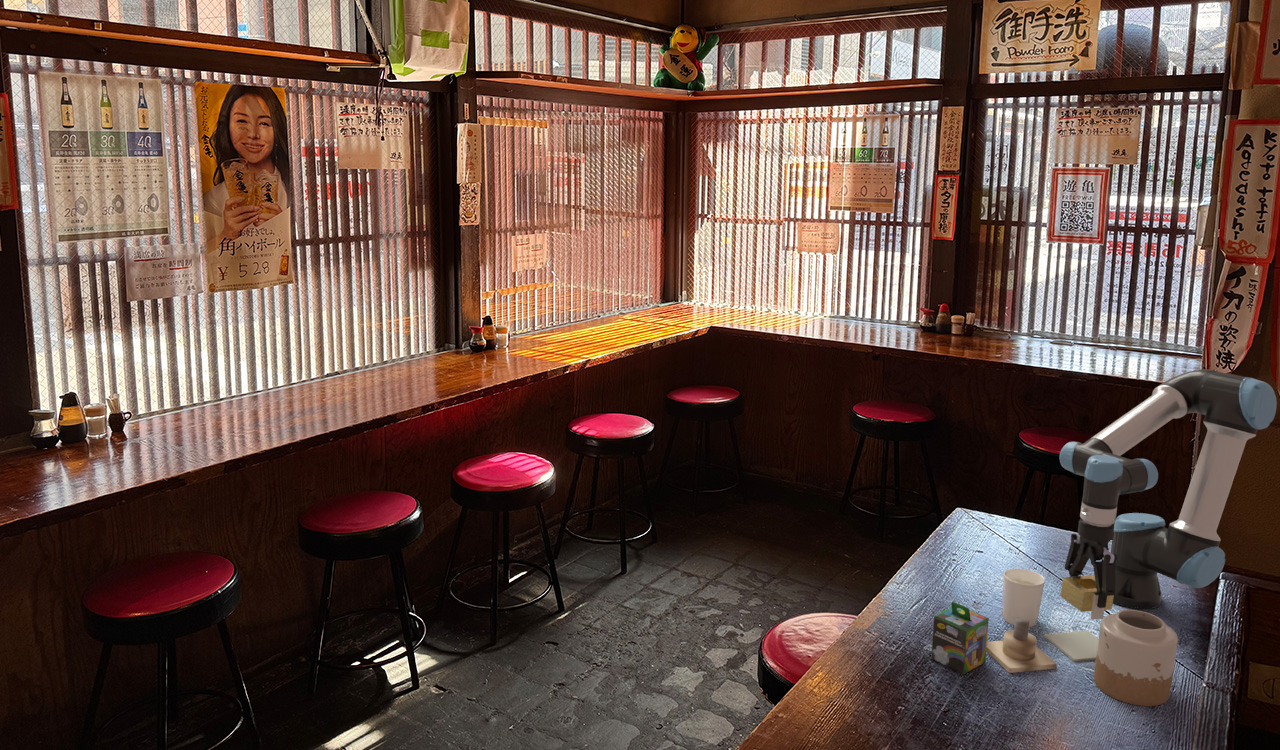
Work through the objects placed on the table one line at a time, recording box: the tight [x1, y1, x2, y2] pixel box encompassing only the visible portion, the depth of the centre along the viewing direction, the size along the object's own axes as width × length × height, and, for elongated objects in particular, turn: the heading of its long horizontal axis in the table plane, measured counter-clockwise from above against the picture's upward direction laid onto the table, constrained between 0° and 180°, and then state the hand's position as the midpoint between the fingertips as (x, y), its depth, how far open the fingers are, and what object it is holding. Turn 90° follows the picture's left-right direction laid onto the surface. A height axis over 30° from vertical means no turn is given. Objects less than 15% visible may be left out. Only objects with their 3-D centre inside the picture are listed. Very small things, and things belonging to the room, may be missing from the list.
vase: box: [1093, 609, 1179, 707], centre depth 208 cm, size 15×15×17 cm
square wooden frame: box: [1060, 575, 1114, 613], centre depth 224 cm, size 8×8×5 cm
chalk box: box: [931, 601, 990, 675], centre depth 219 cm, size 9×9×15 cm
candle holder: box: [1002, 568, 1046, 628], centre depth 239 cm, size 10×10×12 cm
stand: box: [986, 618, 1058, 674], centre depth 221 cm, size 12×12×10 cm
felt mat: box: [1043, 630, 1099, 663], centre depth 227 cm, size 12×12×1 cm
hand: (1085, 609), depth 225 cm, fingers closed on square wooden frame, 8 cm apart
